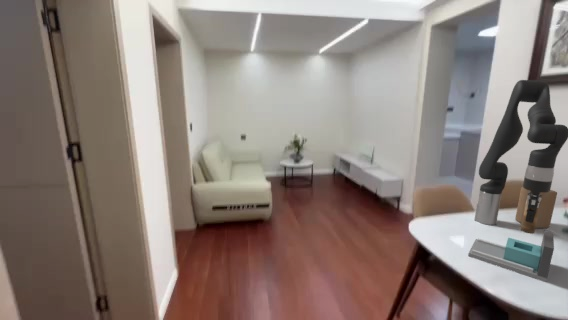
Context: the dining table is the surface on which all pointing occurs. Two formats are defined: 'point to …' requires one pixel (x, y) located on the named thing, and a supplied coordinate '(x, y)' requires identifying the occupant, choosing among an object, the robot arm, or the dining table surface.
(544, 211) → the block
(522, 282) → the dining table surface
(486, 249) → the rail base
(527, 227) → the dowel
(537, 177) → the robot arm
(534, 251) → the socket block
